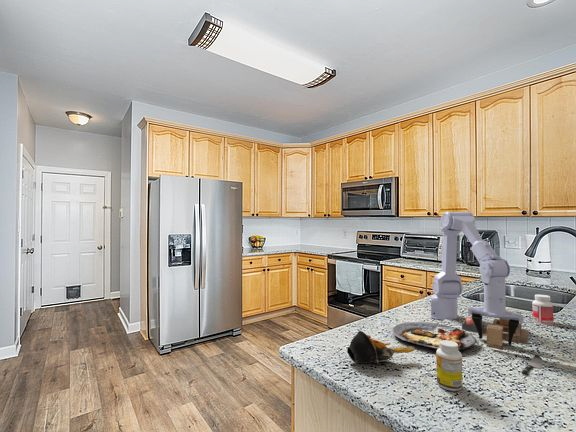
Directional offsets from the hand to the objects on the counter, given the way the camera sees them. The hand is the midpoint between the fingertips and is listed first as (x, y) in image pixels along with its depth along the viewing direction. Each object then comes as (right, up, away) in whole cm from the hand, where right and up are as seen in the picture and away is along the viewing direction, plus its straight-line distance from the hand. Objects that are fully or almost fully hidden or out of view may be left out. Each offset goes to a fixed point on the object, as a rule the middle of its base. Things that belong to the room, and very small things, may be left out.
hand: (495, 340), depth 98 cm
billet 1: (0, -2, 0) cm, 2 cm away
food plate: (-17, -2, +6) cm, 18 cm away
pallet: (+10, -2, +9) cm, 13 cm away
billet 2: (+12, -1, +12) cm, 17 cm away
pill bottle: (+31, -2, +20) cm, 37 cm away
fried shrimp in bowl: (-39, -2, -11) cm, 41 cm away
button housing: (+1, -2, +13) cm, 13 cm away
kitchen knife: (+3, -2, -13) cm, 13 cm away
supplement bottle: (-27, -2, -23) cm, 36 cm away
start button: (+1, 0, +13) cm, 13 cm away
